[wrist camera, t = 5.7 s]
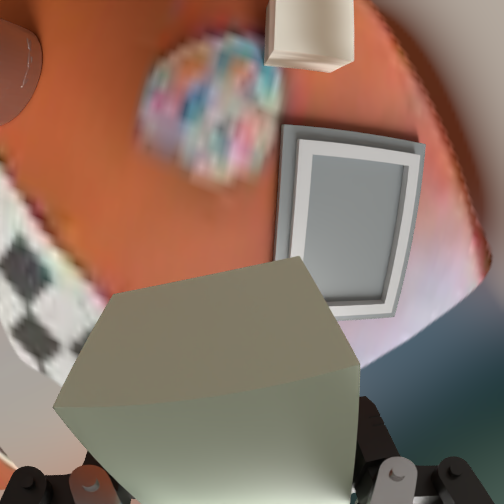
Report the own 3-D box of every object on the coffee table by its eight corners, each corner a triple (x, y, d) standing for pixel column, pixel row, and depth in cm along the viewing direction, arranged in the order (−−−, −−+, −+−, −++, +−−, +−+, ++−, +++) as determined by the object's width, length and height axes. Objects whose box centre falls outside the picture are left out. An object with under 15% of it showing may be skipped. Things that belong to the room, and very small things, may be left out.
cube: (263, 65, 21) (274, 49, 16) (266, 8, 19) (276, -18, 14) (329, 73, 21) (354, 60, 17) (329, 17, 19) (353, -5, 15)
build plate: (268, 316, 28) (271, 328, 26) (281, 124, 22) (286, 124, 21) (389, 311, 29) (397, 321, 27) (419, 143, 23) (431, 145, 22)
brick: (320, 442, 13) (345, 528, 9) (200, 463, 13) (200, 549, 9) (299, 255, 10) (359, 364, 5) (113, 294, 10) (52, 407, 5)
